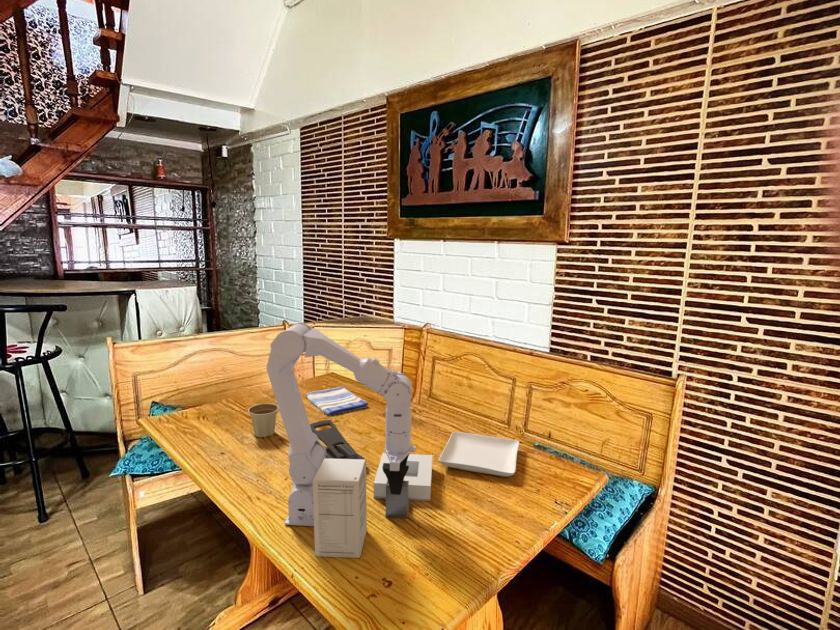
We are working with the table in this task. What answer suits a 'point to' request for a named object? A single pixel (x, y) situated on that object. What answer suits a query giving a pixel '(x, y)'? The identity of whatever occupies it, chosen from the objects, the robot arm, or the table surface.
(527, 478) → the table surface
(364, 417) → the table surface
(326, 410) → the dish towel
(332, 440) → the zipper pull
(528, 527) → the table surface
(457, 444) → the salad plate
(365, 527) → the supplement box
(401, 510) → the bracket
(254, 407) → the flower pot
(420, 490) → the well block
